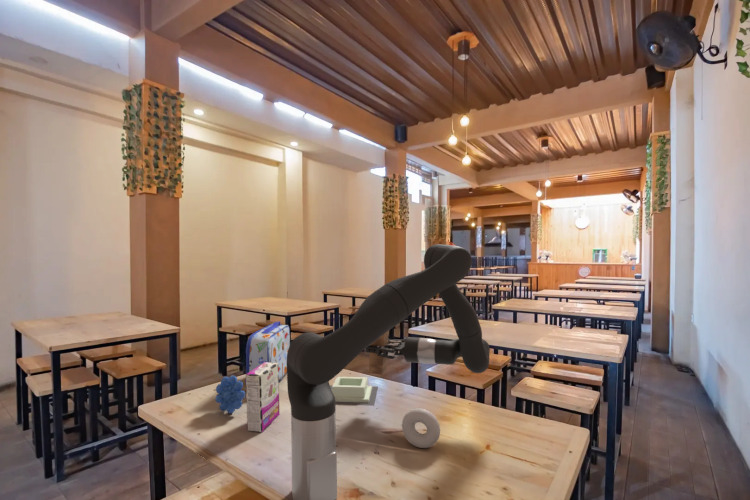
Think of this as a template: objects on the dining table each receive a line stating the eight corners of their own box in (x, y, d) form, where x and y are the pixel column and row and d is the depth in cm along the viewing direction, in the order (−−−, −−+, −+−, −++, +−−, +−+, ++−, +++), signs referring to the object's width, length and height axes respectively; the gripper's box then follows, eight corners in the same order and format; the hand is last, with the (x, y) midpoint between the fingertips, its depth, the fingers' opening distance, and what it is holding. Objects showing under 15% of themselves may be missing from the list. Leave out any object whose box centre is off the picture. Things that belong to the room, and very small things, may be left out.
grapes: (254, 410, 117) (254, 372, 117) (238, 419, 111) (238, 380, 111) (227, 404, 122) (226, 368, 122) (210, 413, 116) (209, 375, 116)
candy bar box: (265, 413, 115) (264, 361, 115) (280, 415, 114) (279, 362, 114) (245, 431, 104) (244, 373, 104) (261, 433, 103) (261, 374, 103)
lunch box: (269, 369, 157) (268, 317, 157) (293, 369, 157) (292, 317, 156) (241, 395, 130) (241, 332, 130) (270, 395, 129) (270, 332, 129)
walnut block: (386, 370, 119) (388, 327, 119) (382, 374, 115) (384, 330, 115) (373, 367, 121) (375, 325, 120) (368, 372, 116) (371, 328, 116)
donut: (400, 447, 95) (400, 408, 95) (404, 440, 98) (403, 403, 98) (438, 454, 92) (438, 414, 92) (441, 447, 95) (441, 408, 95)
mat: (378, 387, 136) (378, 386, 135) (374, 406, 120) (374, 405, 120) (329, 386, 137) (329, 385, 137) (319, 404, 121) (319, 403, 121)
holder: (372, 388, 134) (372, 376, 134) (368, 402, 122) (368, 389, 122) (334, 387, 135) (333, 375, 135) (326, 401, 123) (326, 387, 123)
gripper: (425, 332, 120) (375, 329, 125) (416, 344, 106) (360, 340, 112) (426, 356, 120) (376, 351, 126) (416, 369, 106) (361, 364, 112)
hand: (369, 346), depth 119 cm, fingers closed on walnut block, 4 cm apart
